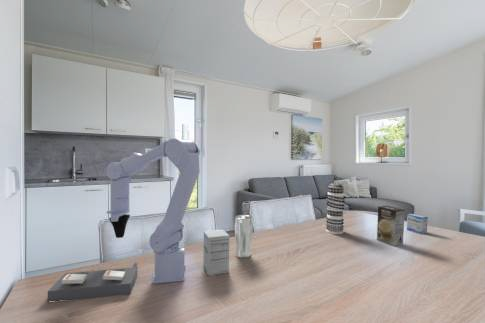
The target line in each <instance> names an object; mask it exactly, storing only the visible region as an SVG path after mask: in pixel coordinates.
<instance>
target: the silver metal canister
mask: <svg viewBox="0 0 485 323" xmlns="http://www.w3.org/2000/svg"><path fill="white" fill-rule="evenodd" d="M234 218H235V219H234V236H235V237H234V238H235V243H236V247H235V249H236V250H235V256H236V257H237V258H240V259H247V258H249V257H251V255H252V252H251V241H252V234H253V216H251V215H249V214H248V215H247V214H239V215H235V217H234Z"/></svg>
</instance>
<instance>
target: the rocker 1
mask: <svg viewBox="0 0 485 323" xmlns="http://www.w3.org/2000/svg"><path fill="white" fill-rule="evenodd" d="M86 278H87V274H67V275H66V276H65V277H64V278H63V279H62V284H74V283H83V282H84V281H85V279H86Z"/></svg>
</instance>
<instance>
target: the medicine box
mask: <svg viewBox="0 0 485 323" xmlns="http://www.w3.org/2000/svg"><path fill="white" fill-rule="evenodd" d="M406 217H407V220H406V230H407V231H409V232H412V231H413V233H416V234H420V235H424V234H427V233H428V221H429V220H428V217H427V216H423V215H419V214H414V213H408V214H407V216H406Z"/></svg>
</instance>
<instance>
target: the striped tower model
mask: <svg viewBox="0 0 485 323" xmlns="http://www.w3.org/2000/svg"><path fill="white" fill-rule="evenodd" d="M327 189H328V190H327V193H326V196H325V197H326V209H327V212H326V213H327V214H326V224H325V231H326V233H329V234H332V235H333V234H334V235H342V234H344V227H345V226H344V224H345V222H344V220H345V219H344V212H345V202H346V198H345V197H344V196H345V193H344V189H345V187H344V185H343V184H341V183H338V182H337V183H334V182H332V183H330V184H329V185H328V186H327Z"/></svg>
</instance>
